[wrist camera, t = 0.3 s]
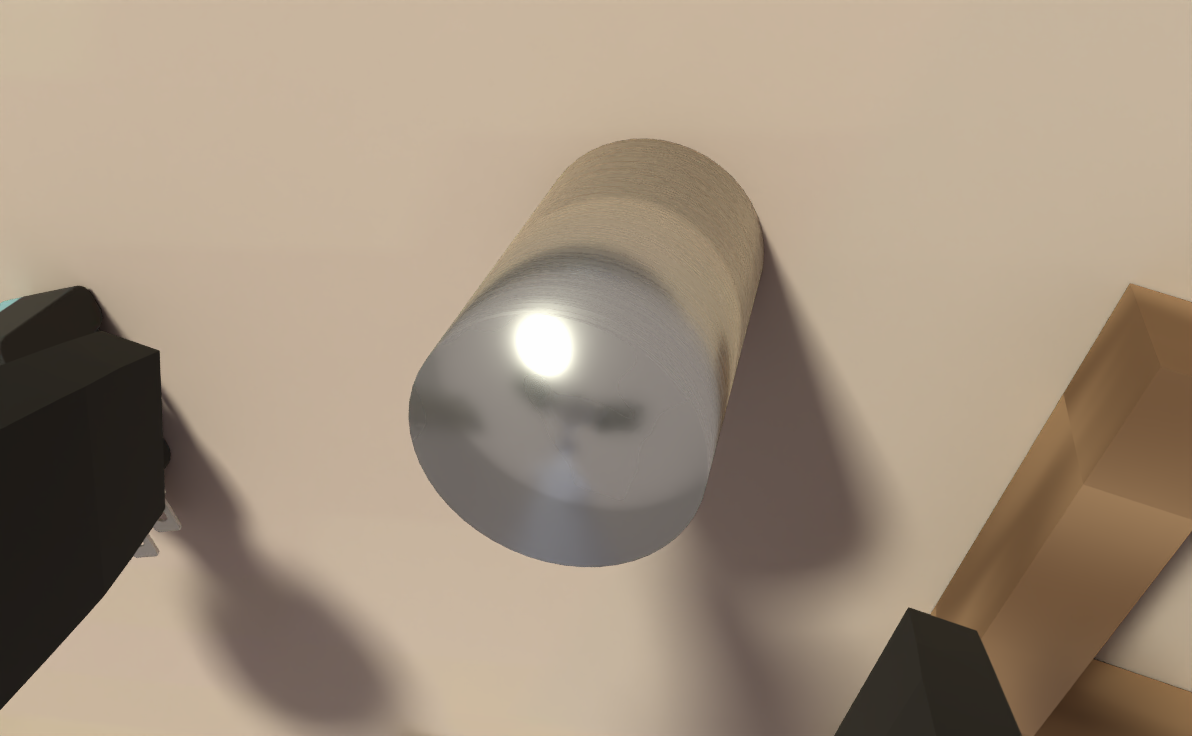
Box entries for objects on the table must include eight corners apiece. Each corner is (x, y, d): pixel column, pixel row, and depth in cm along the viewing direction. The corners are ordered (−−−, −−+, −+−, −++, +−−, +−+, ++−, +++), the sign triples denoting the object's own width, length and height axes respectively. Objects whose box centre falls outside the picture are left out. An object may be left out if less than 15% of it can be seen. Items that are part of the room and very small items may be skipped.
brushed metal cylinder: (727, 372, 19) (663, 603, 14) (523, 307, 20) (394, 510, 15) (795, 179, 17) (748, 376, 12) (564, 109, 17) (426, 271, 12)
